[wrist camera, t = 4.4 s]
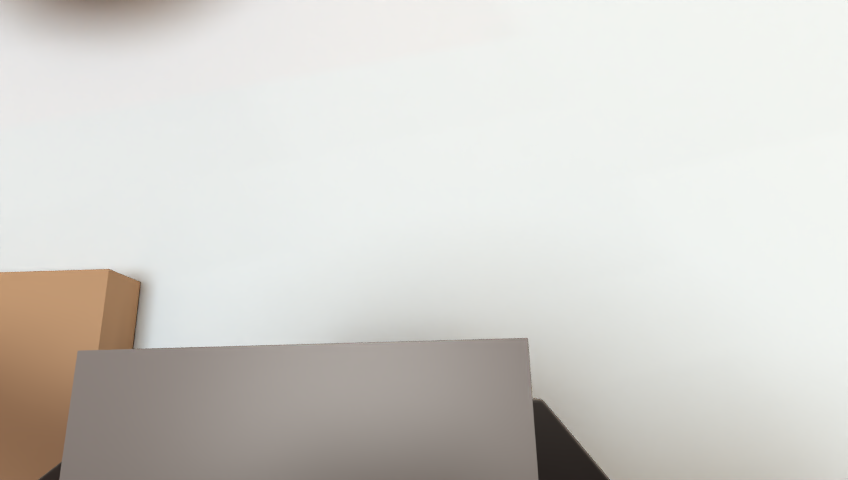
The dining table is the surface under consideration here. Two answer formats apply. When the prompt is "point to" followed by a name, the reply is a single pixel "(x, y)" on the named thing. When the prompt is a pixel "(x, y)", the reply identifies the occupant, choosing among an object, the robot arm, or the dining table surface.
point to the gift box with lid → (304, 412)
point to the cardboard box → (52, 355)
